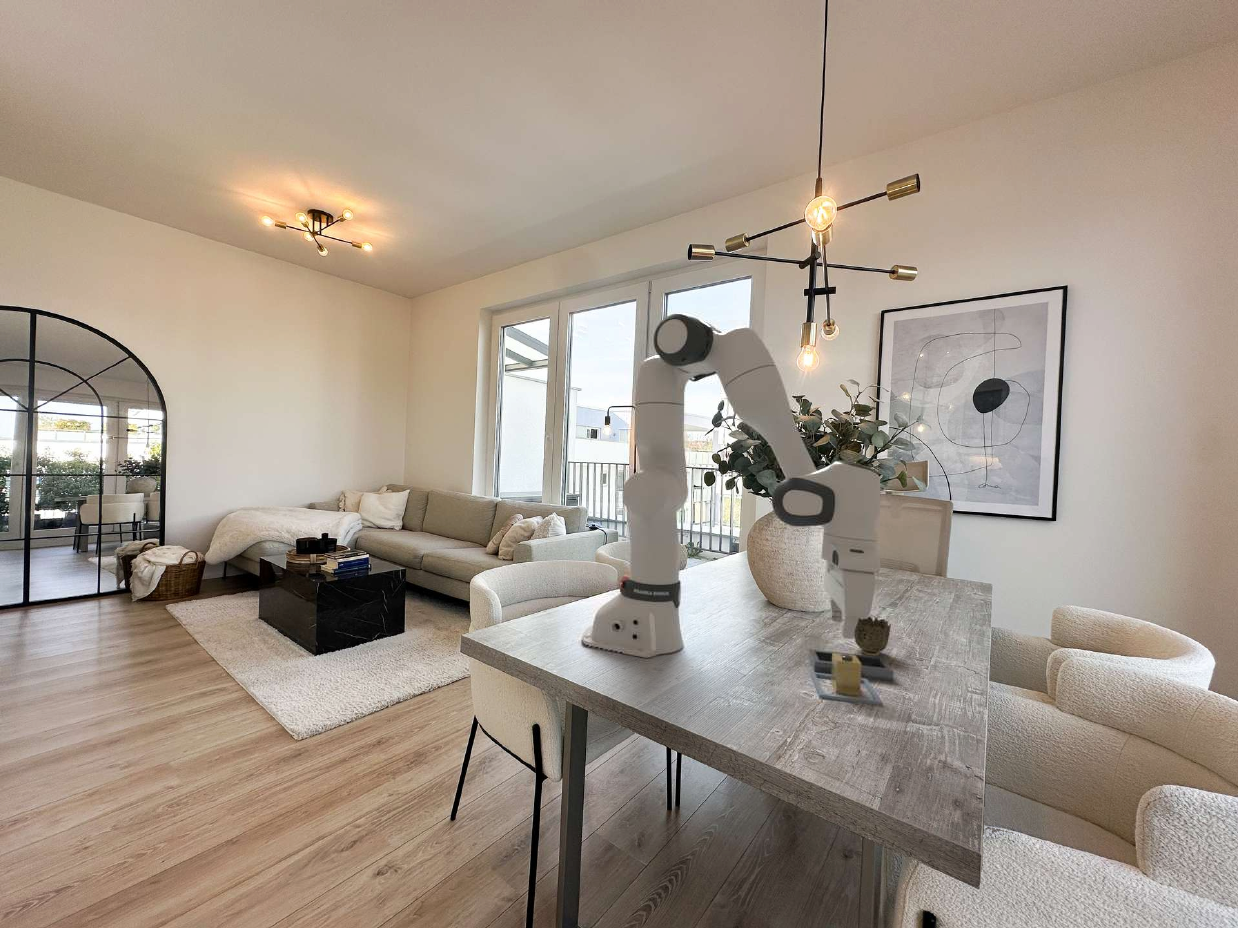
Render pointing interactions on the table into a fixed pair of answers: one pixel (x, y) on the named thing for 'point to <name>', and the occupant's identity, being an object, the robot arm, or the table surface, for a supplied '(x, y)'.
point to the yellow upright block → (846, 674)
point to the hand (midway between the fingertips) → (841, 628)
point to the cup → (872, 635)
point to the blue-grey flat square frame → (874, 701)
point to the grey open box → (869, 664)
